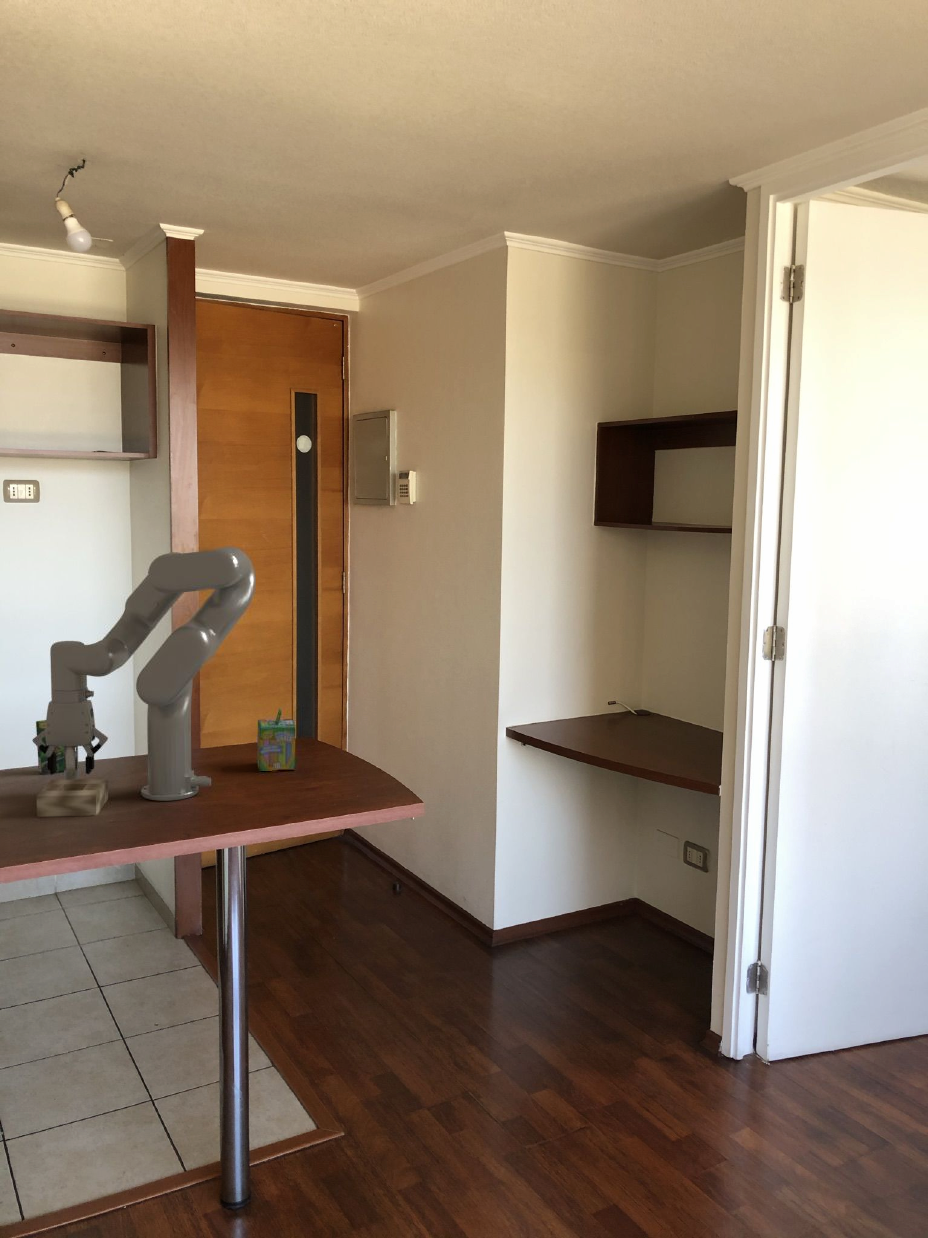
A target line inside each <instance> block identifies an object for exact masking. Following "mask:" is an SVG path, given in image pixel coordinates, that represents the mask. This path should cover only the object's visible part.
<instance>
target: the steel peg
mask: <svg viewBox="0 0 928 1238" xmlns="http://www.w3.org/2000/svg"><path fill="white" fill-rule="evenodd" d="M63 772H64V777H63V778H64V780H76V779H80V778H79V746H64V771H63Z"/></svg>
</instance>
